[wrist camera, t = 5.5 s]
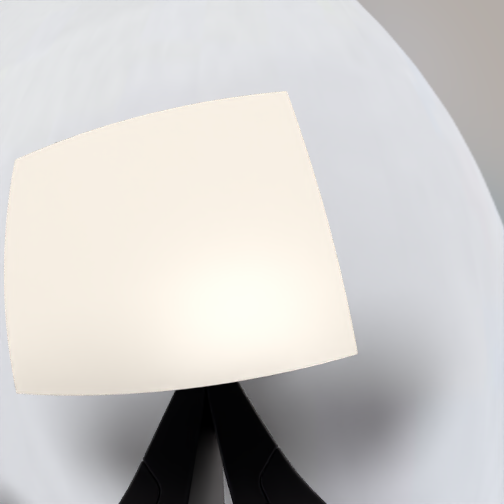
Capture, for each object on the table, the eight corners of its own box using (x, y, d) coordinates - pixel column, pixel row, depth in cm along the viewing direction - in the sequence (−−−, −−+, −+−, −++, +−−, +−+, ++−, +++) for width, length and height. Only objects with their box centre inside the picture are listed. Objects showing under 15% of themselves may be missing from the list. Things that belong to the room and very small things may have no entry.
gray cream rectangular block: (278, 335, 14) (358, 354, 4) (170, 354, 14) (16, 393, 3) (261, 250, 15) (286, 90, 5) (157, 269, 15) (14, 159, 4)
